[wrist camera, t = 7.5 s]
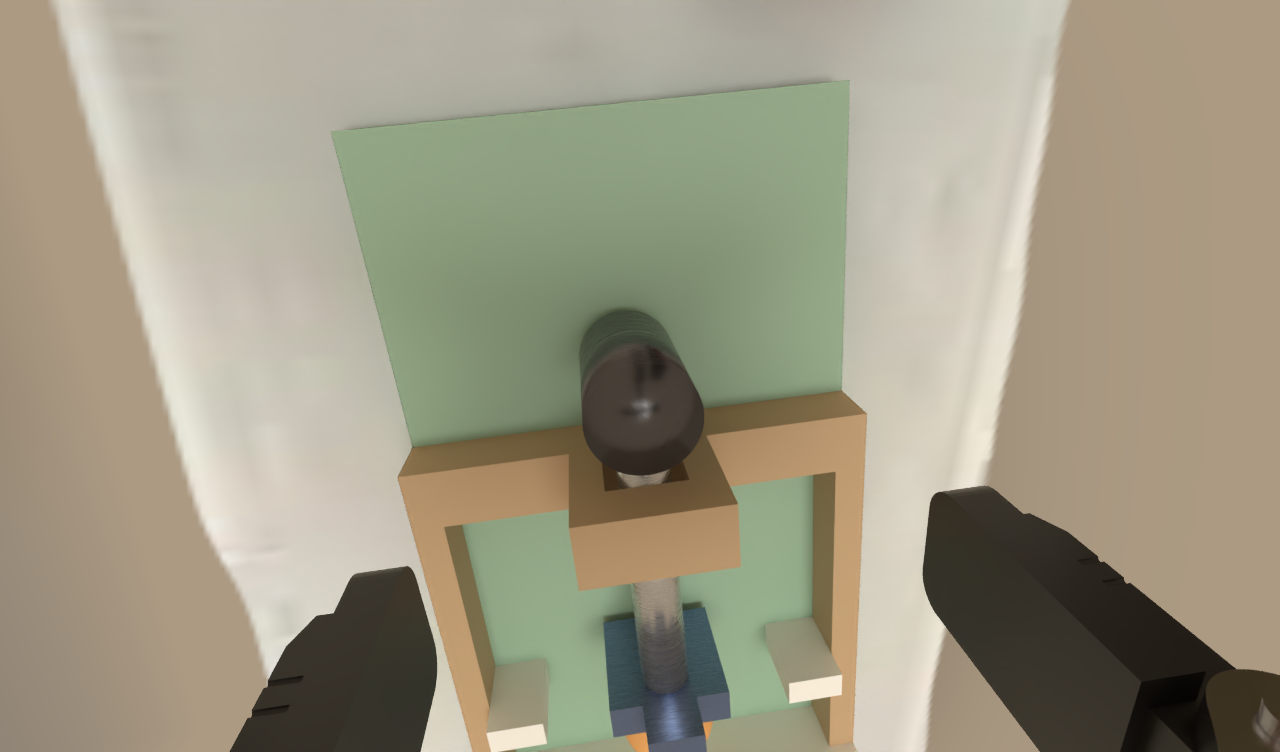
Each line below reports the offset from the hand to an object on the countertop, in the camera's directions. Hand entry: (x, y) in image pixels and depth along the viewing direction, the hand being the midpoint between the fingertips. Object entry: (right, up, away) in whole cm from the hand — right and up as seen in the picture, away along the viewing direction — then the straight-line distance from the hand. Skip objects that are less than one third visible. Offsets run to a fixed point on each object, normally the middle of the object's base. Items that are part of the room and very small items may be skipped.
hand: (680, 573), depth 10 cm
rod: (-1, -1, +12) cm, 13 cm away
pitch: (-1, -1, +14) cm, 14 cm away
